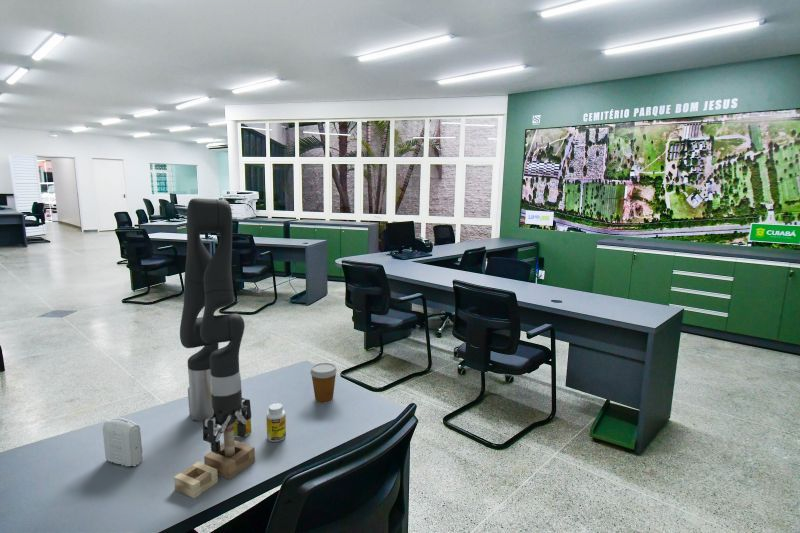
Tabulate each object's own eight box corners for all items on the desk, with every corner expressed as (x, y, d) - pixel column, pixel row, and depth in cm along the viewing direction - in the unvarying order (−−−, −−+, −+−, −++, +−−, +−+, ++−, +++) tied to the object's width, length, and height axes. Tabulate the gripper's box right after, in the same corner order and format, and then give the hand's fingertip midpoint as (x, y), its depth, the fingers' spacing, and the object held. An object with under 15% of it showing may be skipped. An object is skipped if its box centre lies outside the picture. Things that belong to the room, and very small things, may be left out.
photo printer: (145, 460, 120) (141, 418, 118) (132, 469, 116) (127, 426, 114) (117, 453, 123) (113, 412, 121) (103, 461, 119) (98, 420, 117)
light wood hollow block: (175, 489, 109) (173, 477, 108) (198, 473, 115) (197, 461, 114) (194, 498, 106) (193, 485, 105) (217, 481, 112) (217, 469, 111)
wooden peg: (222, 466, 118) (220, 424, 116) (230, 461, 120) (228, 420, 119) (230, 469, 117) (227, 427, 115) (238, 463, 119) (235, 422, 117)
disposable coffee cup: (335, 405, 152) (334, 373, 150) (308, 405, 152) (307, 372, 150) (339, 393, 161) (339, 362, 159) (313, 392, 162) (313, 361, 160)
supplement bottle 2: (270, 444, 128) (269, 412, 127) (264, 436, 133) (263, 404, 131) (288, 439, 131) (287, 407, 130) (282, 430, 136) (281, 400, 134)
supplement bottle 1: (231, 438, 131) (229, 408, 129) (235, 429, 136) (233, 400, 135) (249, 437, 132) (248, 407, 130) (252, 428, 137) (251, 399, 136)
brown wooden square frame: (205, 469, 117) (204, 455, 116) (231, 451, 125) (230, 438, 124) (229, 479, 113) (228, 465, 112) (255, 460, 121) (254, 447, 120)
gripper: (236, 375, 123) (239, 428, 126) (193, 396, 110) (197, 454, 113) (256, 380, 120) (259, 435, 122) (214, 402, 107) (218, 462, 110)
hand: (229, 444), depth 118 cm, fingers open, 8 cm apart
